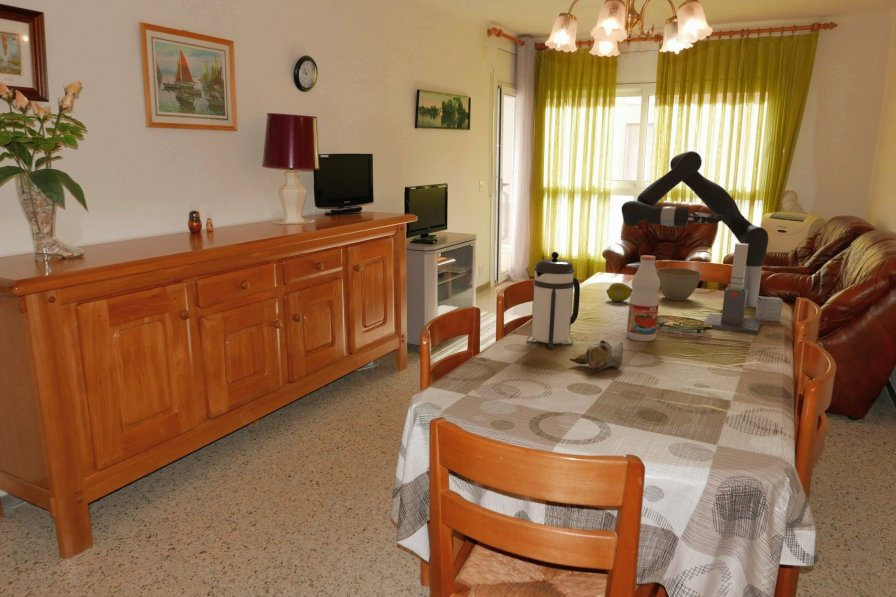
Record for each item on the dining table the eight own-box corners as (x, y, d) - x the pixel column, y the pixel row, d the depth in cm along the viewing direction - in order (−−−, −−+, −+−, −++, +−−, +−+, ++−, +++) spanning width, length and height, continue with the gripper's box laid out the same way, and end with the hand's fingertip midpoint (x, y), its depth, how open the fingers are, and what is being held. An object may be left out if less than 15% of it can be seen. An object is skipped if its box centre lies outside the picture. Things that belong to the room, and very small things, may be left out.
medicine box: (775, 319, 251) (778, 297, 249) (780, 322, 247) (783, 299, 245) (754, 318, 252) (757, 296, 250) (758, 321, 248) (761, 298, 246)
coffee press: (576, 352, 203) (582, 256, 196) (524, 347, 206) (529, 254, 199) (576, 337, 219) (582, 249, 213) (529, 333, 223) (533, 246, 216)
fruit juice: (644, 333, 226) (652, 253, 220) (661, 340, 217) (669, 258, 211) (621, 335, 223) (627, 254, 217) (636, 342, 215) (644, 258, 209)
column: (727, 303, 237) (734, 244, 233) (729, 301, 241) (736, 242, 236) (740, 305, 235) (747, 245, 231) (741, 302, 239) (748, 243, 234)
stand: (702, 327, 237) (706, 290, 234) (709, 317, 252) (713, 282, 249) (756, 334, 228) (761, 297, 225) (760, 323, 243) (765, 288, 240)
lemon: (603, 301, 274) (605, 283, 272) (607, 298, 281) (609, 280, 279) (629, 304, 269) (631, 286, 268) (633, 301, 276) (635, 282, 275)
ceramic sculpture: (634, 341, 184) (589, 349, 179) (633, 370, 186) (589, 379, 181) (611, 332, 194) (568, 339, 188) (610, 360, 196) (568, 368, 190)
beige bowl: (645, 295, 289) (648, 268, 286) (680, 293, 294) (683, 267, 292) (670, 304, 272) (673, 275, 269) (707, 302, 277) (710, 274, 275)
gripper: (672, 207, 242) (718, 210, 234) (679, 205, 254) (723, 207, 246) (670, 227, 243) (716, 231, 236) (677, 224, 255) (721, 227, 248)
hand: (720, 219), depth 241 cm, fingers open, 8 cm apart
